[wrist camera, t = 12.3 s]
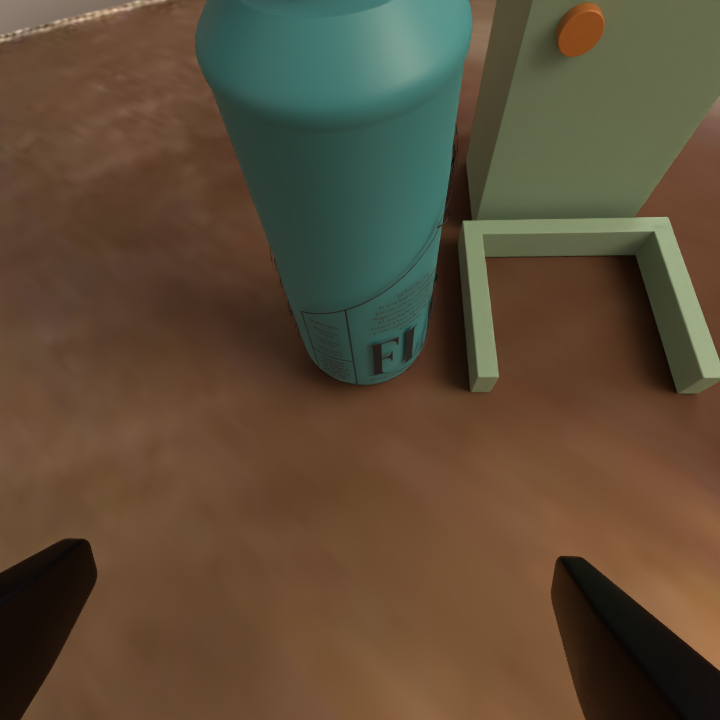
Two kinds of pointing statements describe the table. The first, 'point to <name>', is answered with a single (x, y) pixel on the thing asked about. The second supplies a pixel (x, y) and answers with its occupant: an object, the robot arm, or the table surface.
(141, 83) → the table surface
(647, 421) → the table surface
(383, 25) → the beverage bottle
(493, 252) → the drink station
